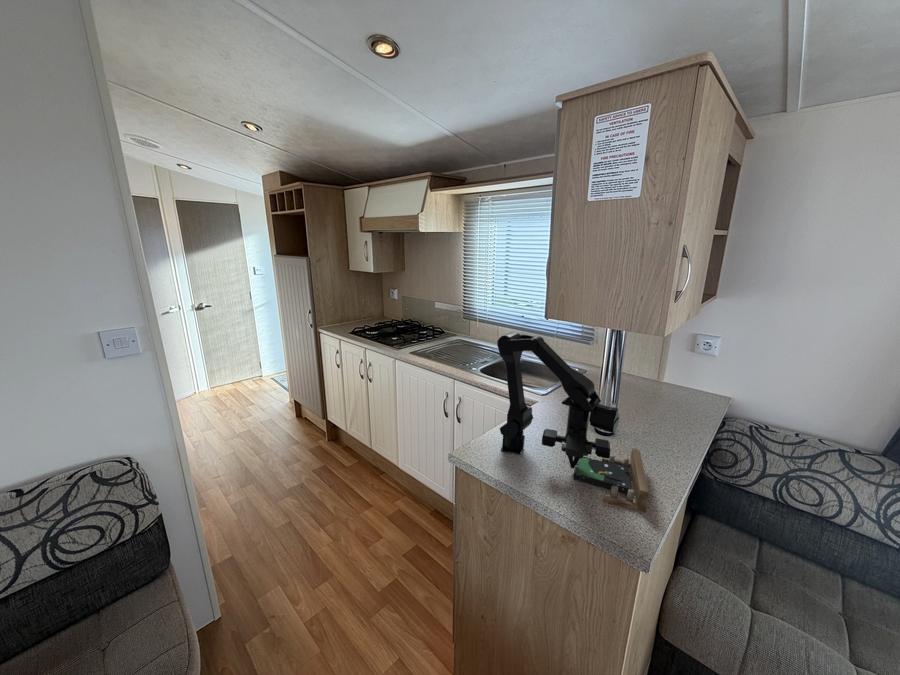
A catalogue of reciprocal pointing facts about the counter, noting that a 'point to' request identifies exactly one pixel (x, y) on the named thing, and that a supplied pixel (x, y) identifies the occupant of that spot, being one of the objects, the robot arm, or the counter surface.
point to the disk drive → (602, 474)
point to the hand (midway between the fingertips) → (572, 467)
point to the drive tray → (637, 480)
